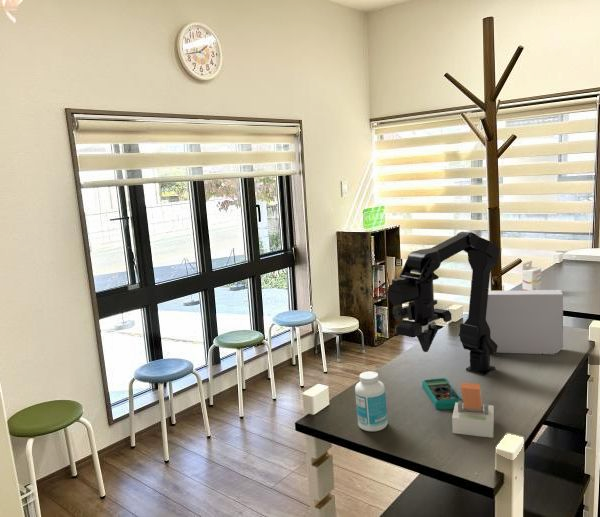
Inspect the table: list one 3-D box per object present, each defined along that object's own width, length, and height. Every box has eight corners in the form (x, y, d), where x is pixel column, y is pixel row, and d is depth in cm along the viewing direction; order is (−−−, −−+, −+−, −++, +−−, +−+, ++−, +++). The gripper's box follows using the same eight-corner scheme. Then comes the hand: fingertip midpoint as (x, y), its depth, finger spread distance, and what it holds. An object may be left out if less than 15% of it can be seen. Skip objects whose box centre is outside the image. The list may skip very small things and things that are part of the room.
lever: (463, 405, 123) (460, 382, 116) (483, 407, 121) (480, 383, 114) (463, 411, 122) (460, 388, 115) (482, 413, 120) (480, 389, 113)
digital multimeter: (436, 412, 131) (436, 401, 131) (421, 388, 146) (421, 378, 145) (464, 409, 131) (464, 399, 131) (446, 386, 146) (446, 376, 145)
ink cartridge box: (533, 296, 225) (532, 264, 222) (522, 295, 229) (521, 263, 226) (541, 292, 230) (541, 261, 228) (531, 291, 234) (530, 260, 232)
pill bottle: (389, 419, 129) (386, 369, 127) (385, 434, 122) (381, 381, 120) (361, 417, 131) (357, 368, 129) (355, 431, 125) (351, 380, 122)
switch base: (455, 417, 127) (455, 394, 126) (494, 420, 124) (493, 398, 122) (452, 433, 120) (451, 409, 119) (493, 437, 116) (492, 413, 115)
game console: (472, 345, 174) (470, 290, 170) (560, 348, 164) (560, 289, 161) (472, 352, 168) (470, 294, 165) (563, 355, 159) (563, 294, 156)
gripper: (418, 286, 150) (420, 336, 152) (378, 301, 138) (381, 355, 140) (451, 291, 141) (453, 344, 144) (411, 307, 129) (415, 364, 132)
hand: (425, 351), depth 140 cm, fingers closed
